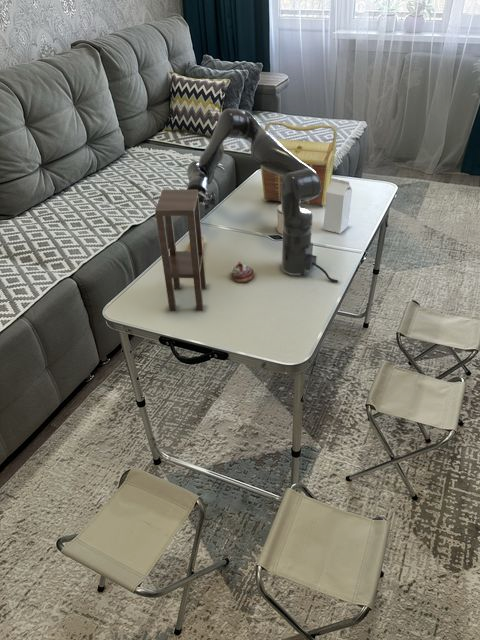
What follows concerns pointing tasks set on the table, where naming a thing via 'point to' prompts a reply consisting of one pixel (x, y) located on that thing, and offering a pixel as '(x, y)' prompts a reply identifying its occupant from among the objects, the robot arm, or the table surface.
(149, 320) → the table surface
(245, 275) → the pastry
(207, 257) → the table surface
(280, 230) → the teacup with lid
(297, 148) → the picnic basket
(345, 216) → the milk carton
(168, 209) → the stand
